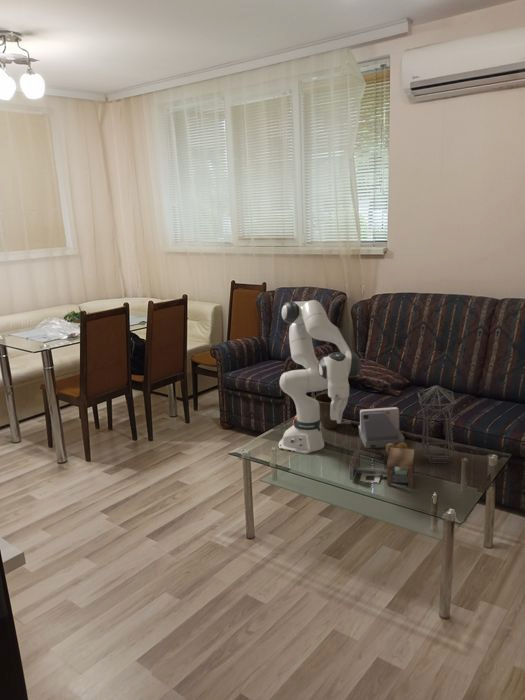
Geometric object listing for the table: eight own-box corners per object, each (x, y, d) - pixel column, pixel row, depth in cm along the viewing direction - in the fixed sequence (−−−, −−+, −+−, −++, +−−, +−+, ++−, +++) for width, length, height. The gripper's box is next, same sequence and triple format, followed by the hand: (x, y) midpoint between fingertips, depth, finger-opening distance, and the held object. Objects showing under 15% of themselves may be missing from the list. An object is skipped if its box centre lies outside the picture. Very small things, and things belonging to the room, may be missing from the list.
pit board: (359, 481, 238) (359, 480, 237) (363, 468, 249) (363, 467, 248) (378, 483, 235) (378, 482, 235) (382, 470, 246) (382, 468, 246)
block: (394, 481, 236) (394, 470, 235) (395, 475, 241) (395, 464, 240) (406, 482, 235) (406, 471, 234) (407, 476, 239) (407, 465, 238)
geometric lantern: (457, 467, 244) (458, 391, 235) (420, 467, 247) (418, 392, 238) (453, 451, 259) (453, 379, 249) (418, 450, 262) (416, 380, 253)
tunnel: (387, 485, 233) (386, 462, 230) (390, 469, 246) (390, 447, 243) (412, 488, 230) (412, 464, 227) (414, 471, 243) (414, 449, 240)
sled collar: (349, 481, 238) (349, 464, 236) (355, 466, 251) (354, 450, 249) (409, 487, 230) (409, 470, 228) (412, 471, 243) (412, 454, 241)
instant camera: (400, 431, 285) (400, 403, 281) (405, 448, 265) (405, 419, 261) (358, 431, 288) (357, 403, 284) (359, 449, 268) (359, 419, 264)
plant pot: (330, 418, 306) (329, 390, 302) (350, 426, 295) (349, 397, 290) (310, 426, 298) (308, 397, 294) (329, 434, 286) (328, 405, 282)
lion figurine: (391, 465, 250) (391, 446, 248) (382, 461, 254) (382, 443, 252) (412, 454, 259) (413, 436, 256) (403, 451, 263) (403, 433, 260)
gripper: (341, 400, 226) (342, 432, 229) (350, 383, 244) (350, 413, 248) (326, 399, 228) (327, 431, 231) (335, 383, 246) (336, 412, 250)
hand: (339, 422), depth 240 cm, fingers closed
